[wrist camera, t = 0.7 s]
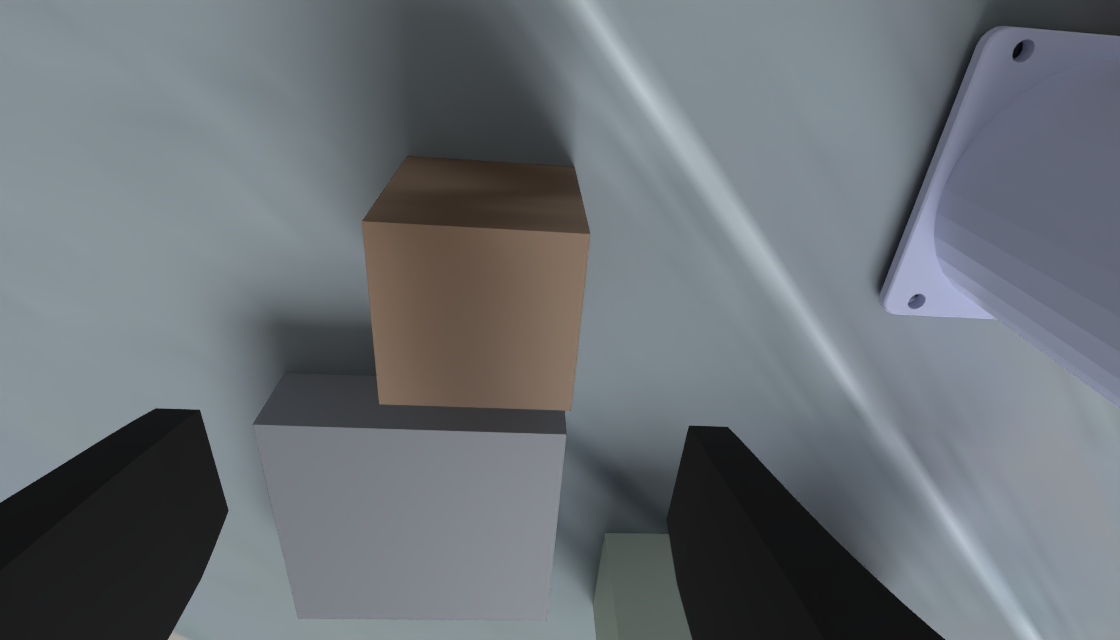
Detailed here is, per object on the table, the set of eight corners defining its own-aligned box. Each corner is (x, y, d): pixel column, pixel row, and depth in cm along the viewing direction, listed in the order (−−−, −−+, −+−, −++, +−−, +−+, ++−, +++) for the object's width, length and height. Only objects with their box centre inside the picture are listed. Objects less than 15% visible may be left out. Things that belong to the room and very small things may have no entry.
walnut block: (574, 166, 16) (590, 233, 12) (561, 309, 18) (571, 410, 14) (407, 155, 16) (361, 221, 12) (415, 302, 18) (379, 404, 14)
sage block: (714, 533, 24) (755, 656, 20) (693, 603, 26) (726, 727, 22) (604, 531, 24) (621, 655, 19) (592, 602, 26) (605, 728, 21)
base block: (562, 376, 20) (566, 434, 17) (545, 552, 25) (546, 620, 22) (289, 365, 19) (252, 424, 17) (323, 549, 24) (297, 618, 21)
